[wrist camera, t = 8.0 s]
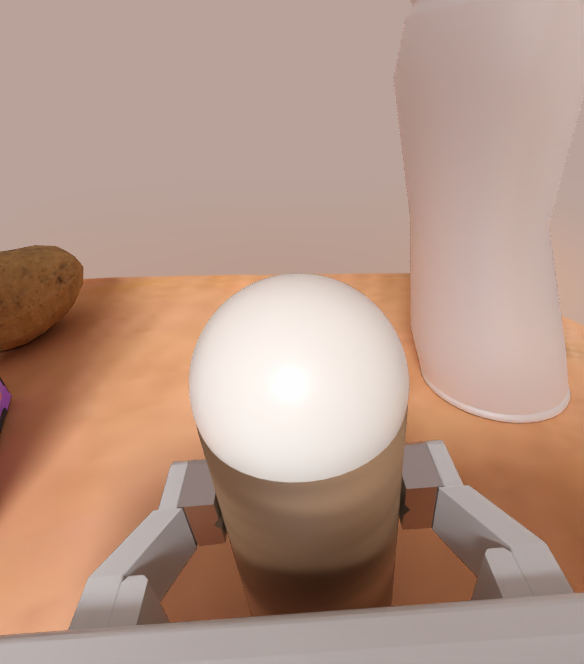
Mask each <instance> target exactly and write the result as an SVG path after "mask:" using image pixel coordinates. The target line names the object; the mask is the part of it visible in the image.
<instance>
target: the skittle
mask: <svg viewBox="0 0 584 664" xmlns="http://www.w3.org/2000/svg"><path fill="white" fill-rule="evenodd" d="M408 396H409V373H408V366H407V360H406V356H405V353H404V350H403V347H402V344H401V342H400V339H399V337H398V335H397V333H396V331H395V330H394V328H393V326H392V324H391V323H390V321H389V320H388V318H387V317H386V316H385V315H384V313H383V312H382V311H381V310H380V309H379V308H378V306H377V305H375V304H374V303H373V302H372V301H371V300H370V299H369V298H367V297H366V296H365V295H364V294H362V293H361V292H359V291H357V290H356V289H354V288H353V287H351V286H349V285H347V284H345V283H343V282H340V281H338V280H335V279H332V278H329V277H325V276H321V275H314V274H305V273H291V274H282V275H277V276H272V277H269V278H266V279H263V280H260V281H257V282H255V283H252V284H250V285H248V286H246V287H245V288H243V289H242V290H240V291H238V292H237V293H235V294H234V295H232V296H231V297H230V298H229V299H228V300H227V301H225V302H224V303H223V304H222V305H221V306H220V307H219V308H218V309H217V310H216V312H215V313H214V314H213V315H212V317H211V318H210V319H209V321H208V322H207V324H206V325H205V327H204V329H203V331H202V332H201V334H200V336H199V338H198V341H197V343H196V346H195V349H194V352H193V355H192V360H191V365H190V372H189V398H190V403H191V408H192V412H193V417H194V420H195V422H196V425H197V430H198V434H199V437H200V441H201V444H202V448H203V451H204V454H205V458H206V461H207V465H208V468H209V472H210V475H211V478H212V482H213V485H214V489H215V492H216V495H217V499H218V502H219V506H220V509H221V513H222V516H223V519H224V523H225V526H226V530H227V533H228V536H229V540H230V543H231V547H232V550H233V553H234V557H235V560H236V564H237V567H238V571H239V574H240V577H241V581H242V584H243V588H244V591H245V594H246V598H247V601H248V605H249V608H250V612H251V615H252V617H255V616H268V615H282V614H295V613H308V612H322V611H335V610H349V609H363V608H377V607H390V606H391V603H392V591H393V579H394V567H395V555H396V543H397V530H398V518H399V506H400V494H401V482H402V470H403V458H404V446H405V434H406V421H407V409H408V405H407V403H408Z"/></svg>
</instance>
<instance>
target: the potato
mask: <svg viewBox="0 0 584 664" xmlns="http://www.w3.org/2000/svg"><path fill="white" fill-rule="evenodd" d="M82 284H83V266H82V265H81V263H80V262H79V261H78V260H77V259H76V258H75V256H73V255H71V254H70V253H68V252H67V251H65V250H63V249H61V248H59V247H56V246H39V245H38V246H37V245H34V246H29V247H24V248H19V249H14V250H8V251H2V252H0V351H5V350H9V349H12V348H15V347H19V346H22V345H25V344H27V343H29V342H30V341H32V340H34V339H35V338H37V337H38V336H40V335H41V334H43V333H44V332H45V331H47V330H48V329H49V328H50V327H51V326H53V325H54V324H55V323H56V322H57V321H58V320H60V319H61V318H62V317H63V316H64V315H65V314H66V313H67V312H68V311H69V309H70V308H71V307H72V306H73V304H74V303H75V301H76V298H77V296H78V294H79V291H80V289H81V287H82Z"/></svg>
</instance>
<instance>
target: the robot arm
mask: <svg viewBox="0 0 584 664" xmlns="http://www.w3.org/2000/svg"><path fill="white" fill-rule="evenodd" d="M399 518H400V522H401V525H402V529H423V528H432V530H433V531H434V532H435V533H436V534H437V535H438V536H439V537H440V538H441V539H442V540H443V541H444V543H445V544H446V545H447V546H448V547H449V548H450V549H451V550H452V551H453V552H454V553H455V554H456V555H457V556H458V557H459V558H460V560H461V561H462V562H463V563H464V564H465V565H466V566H467V567H468V568H469V569H470V570H471V571H472V572H473V573H474V574H475V575H476V577H477V578H478V579H477V582H476V585H475V589H474V592H473V595H472V599H471V601H459V602H445V603H431V604H418V605H404V606H390V607H377V608H363V609H349V610H335V611H322V612H308V613H295V614H282V615H268V616H255V617H241V618H227V619H214V620H200V621H187V622H173V623H170V621H169V619H168V617H167V616H166V614H165V612H164V610H163V608H162V606H161V604H160V602H161V600H162V599H163V597H164V596H165V595H166V593H167V592H168V590H169V589H170V587H171V586H172V584H173V583H174V581H175V580H176V578H177V577H178V575H179V574H180V572H181V571H182V569H183V568H184V567H185V565H186V564H187V562H188V561H189V559H190V558H191V556H192V555H193V553H194V552H195V550H196V549H197V547H196V546H204V545H214V544H223V543H226V535H227V530H226V526H225V523H224V519H223V516H222V513H221V509H220V506H219V502H218V499H217V495H216V492H215V489H214V485H213V482H212V478H211V475H210V472H209V468H208V465H207V461H206V460H190V461H177V462H173V463H172V465H171V466H170V470H169V473H168V477H167V480H166V484H165V487H164V491H163V494H162V498H161V501H160V505H159V508H158V510H153V511H152V512H151V513H150V514H149V515H148V516H147V517H146V518H145V519H144V520H143V521H142V522H141V524H140V525H139V526H138V527H137V528H136V529H135V530H134V531H133V532H132V533H131V534H130V535H129V536H128V537H127V538H126V539H125V540H124V541H123V542H122V543H121V544H120V545H119V546H118V547H117V548H116V550H115V551H114V552H113V553H112V554H111V555H110V556H109V557H108V558H107V559H106V560H105V561H104V562H103V563H102V564H101V565H100V566H99V567H98V568H97V569H96V570H95V571H94V572H93V573H92V574H91V576H90V577H89V578H88V580H87V583H86V586H85V588H84V591H83V593H82V596H81V598H80V601H79V604H78V606H77V609H76V611H75V614H74V617H73V619H72V622H71V624H70V627H69V629H68V630H64V631H51V632H37V633H23V634H9V635H0V664H584V592H581V593H574V591H573V589H572V587H571V586H570V584H569V582H568V580H567V579H566V577H565V575H564V573H563V572H562V570H561V568H560V567H559V565H558V563H557V561H556V560H555V558H554V556H553V554H552V553H551V551H550V549H549V547H548V546H547V544H546V543H545V542H544V541H542V540H541V539H540V538H538V537H537V536H536V535H535V534H533V533H532V532H531V531H529V530H528V529H527V528H525V527H524V526H523V525H521V524H520V523H519V522H517V521H516V520H515V519H513V518H512V517H511V516H509V515H508V514H507V513H505V512H504V511H503V510H501V509H500V508H499V507H497V506H496V505H495V504H493V503H492V502H491V501H489V500H488V499H487V498H485V497H484V496H483V495H481V494H480V493H479V492H477V491H476V490H475V489H473V488H472V487H471V486H469V485H463V483H462V480H461V478H460V476H459V474H458V472H457V470H456V467H455V465H454V463H453V461H452V459H451V457H450V455H449V452H448V450H447V448H446V446H445V444H444V442H443V441H442V440H433V441H424V442H423V441H419V442H409V443H405V446H404V458H403V470H402V482H401V494H400V506H399Z"/></svg>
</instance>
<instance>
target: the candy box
mask: <svg viewBox="0 0 584 664" xmlns="http://www.w3.org/2000/svg"><path fill="white" fill-rule="evenodd" d="M11 397H12V396H11V394H10V393H9V391H8V390H7V388H6V386H5V384H4V383H3V381H2V379H1V378H0V433H1V428H2V425H3V422H4V419H5V416H6V413H7V410H8V406H9V403H10V399H11Z"/></svg>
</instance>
